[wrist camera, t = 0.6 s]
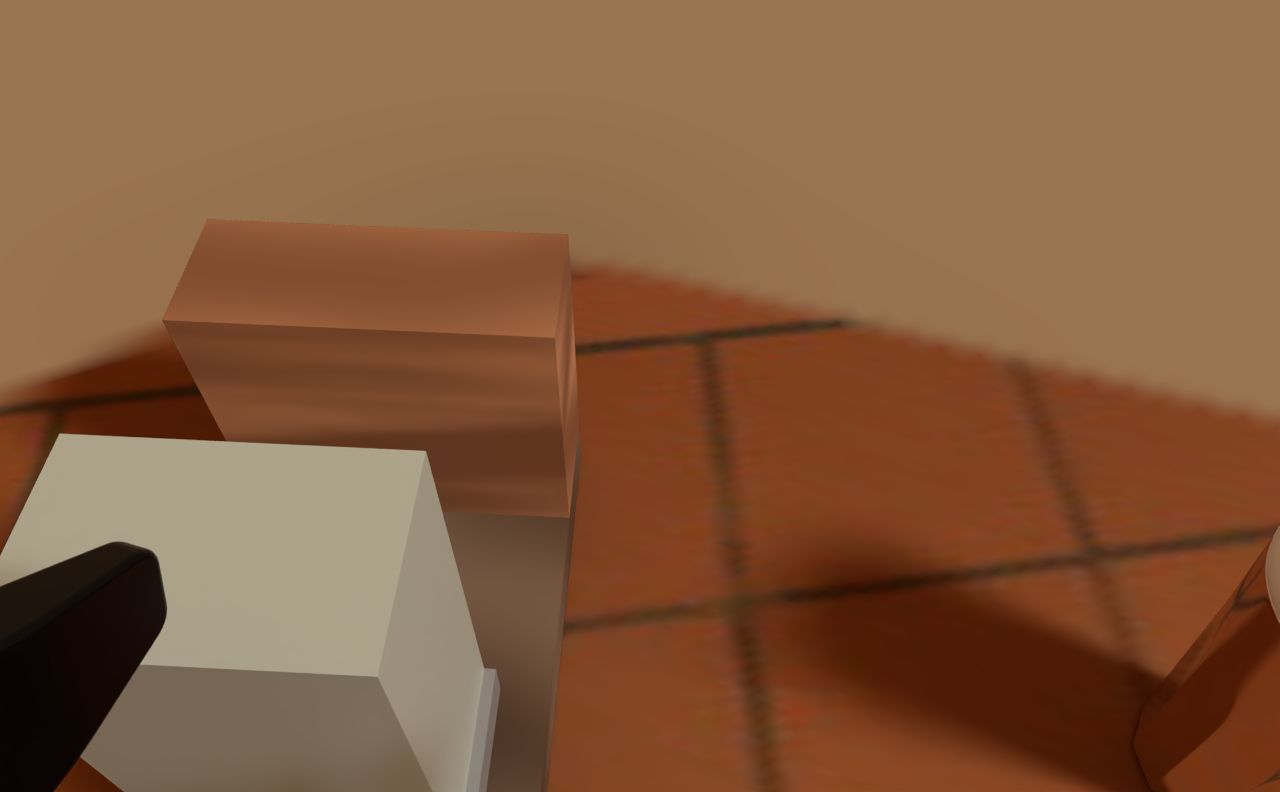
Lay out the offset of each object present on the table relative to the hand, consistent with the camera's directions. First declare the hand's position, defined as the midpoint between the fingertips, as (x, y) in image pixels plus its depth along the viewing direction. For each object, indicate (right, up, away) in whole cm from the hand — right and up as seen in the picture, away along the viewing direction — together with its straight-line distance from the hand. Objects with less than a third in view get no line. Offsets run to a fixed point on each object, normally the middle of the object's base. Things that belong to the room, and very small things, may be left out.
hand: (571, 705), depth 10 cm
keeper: (-5, -5, +12) cm, 14 cm away
